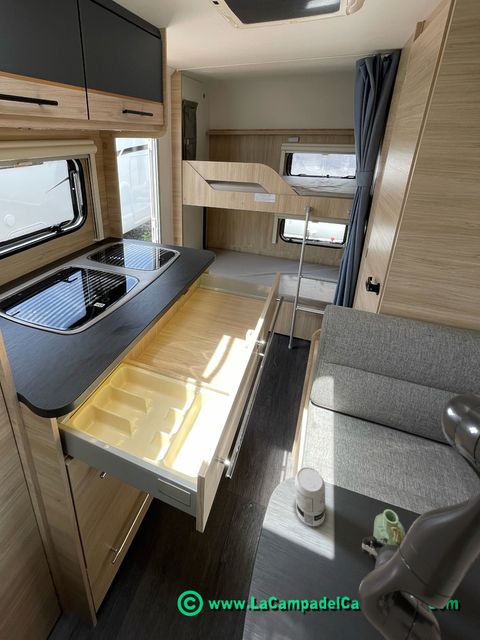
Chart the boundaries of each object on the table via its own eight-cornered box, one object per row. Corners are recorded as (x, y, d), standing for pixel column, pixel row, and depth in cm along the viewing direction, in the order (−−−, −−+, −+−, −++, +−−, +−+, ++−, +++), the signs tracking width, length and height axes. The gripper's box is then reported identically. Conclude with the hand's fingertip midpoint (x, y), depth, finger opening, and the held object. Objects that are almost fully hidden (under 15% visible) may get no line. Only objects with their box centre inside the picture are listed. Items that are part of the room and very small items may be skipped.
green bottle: (403, 553, 86) (409, 513, 81) (397, 578, 82) (403, 537, 76) (376, 535, 91) (379, 496, 85) (369, 558, 86) (372, 519, 81)
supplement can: (293, 499, 103) (291, 466, 97) (319, 497, 102) (319, 464, 97) (300, 528, 95) (299, 494, 90) (328, 527, 94) (329, 492, 89)
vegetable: (407, 583, 77) (415, 530, 70) (402, 601, 74) (409, 548, 67) (386, 567, 80) (392, 515, 73) (380, 584, 77) (386, 531, 70)
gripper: (446, 577, 59) (437, 548, 72) (359, 532, 67) (365, 514, 80) (443, 628, 57) (435, 589, 70) (353, 576, 65) (361, 550, 78)
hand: (397, 549), depth 75 cm, fingers closed on vegetable, 4 cm apart
